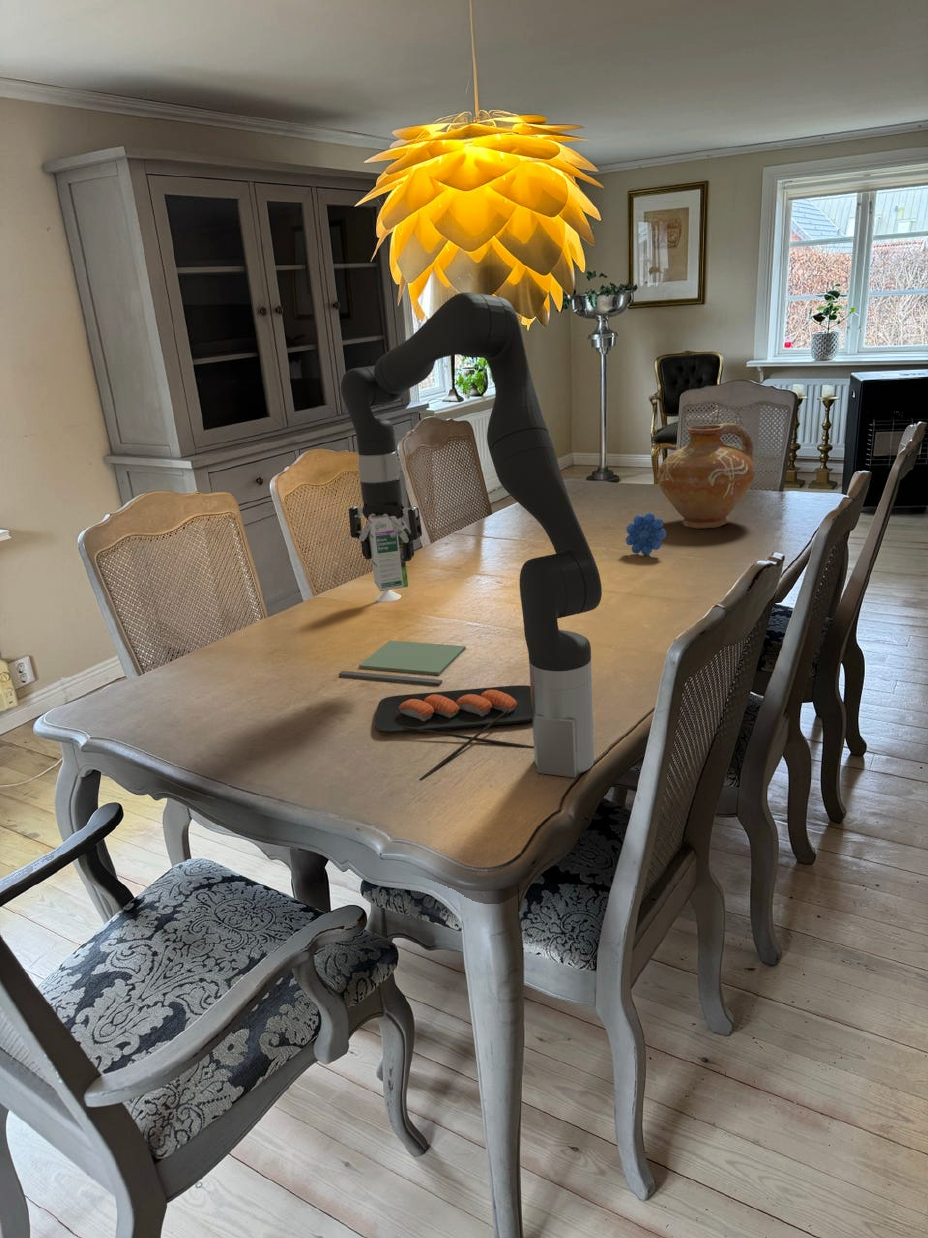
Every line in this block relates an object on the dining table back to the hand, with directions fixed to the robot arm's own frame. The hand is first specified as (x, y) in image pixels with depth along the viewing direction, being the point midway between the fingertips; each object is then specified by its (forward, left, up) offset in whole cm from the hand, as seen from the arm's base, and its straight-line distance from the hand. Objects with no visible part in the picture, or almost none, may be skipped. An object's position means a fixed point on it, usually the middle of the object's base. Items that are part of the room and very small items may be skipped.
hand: (388, 559), depth 167 cm
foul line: (-6, -1, -23) cm, 24 cm away
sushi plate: (-24, -23, -24) cm, 41 cm away
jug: (+122, -45, -23) cm, 132 cm away
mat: (+5, -1, -23) cm, 23 cm away
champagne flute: (+41, +23, -23) cm, 52 cm away
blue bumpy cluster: (+87, -34, -23) cm, 96 cm away
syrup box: (0, 0, -6) cm, 6 cm away
